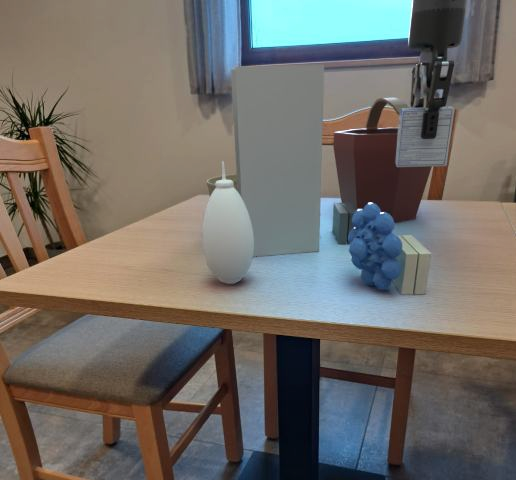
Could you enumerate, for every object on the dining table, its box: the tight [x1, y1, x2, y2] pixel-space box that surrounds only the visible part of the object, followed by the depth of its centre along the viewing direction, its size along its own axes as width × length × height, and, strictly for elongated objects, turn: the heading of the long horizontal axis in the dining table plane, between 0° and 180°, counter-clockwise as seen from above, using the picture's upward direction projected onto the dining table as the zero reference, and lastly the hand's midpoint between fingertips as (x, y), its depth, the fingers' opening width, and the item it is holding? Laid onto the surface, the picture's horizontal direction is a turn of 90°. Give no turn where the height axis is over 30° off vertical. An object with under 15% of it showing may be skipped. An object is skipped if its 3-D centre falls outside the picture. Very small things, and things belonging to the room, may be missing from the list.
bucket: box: [332, 97, 433, 224], centre depth 105 cm, size 24×22×25 cm
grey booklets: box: [332, 202, 356, 245], centre depth 93 cm, size 3×10×6 cm, turn 179°
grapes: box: [348, 203, 403, 291], centre depth 67 cm, size 12×7×12 cm, turn 23°
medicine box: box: [395, 106, 455, 167], centre depth 75 cm, size 8×4×9 cm, turn 79°
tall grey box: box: [230, 64, 325, 258], centre depth 81 cm, size 14×6×30 cm, turn 100°
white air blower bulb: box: [201, 160, 254, 285], centre depth 69 cm, size 8×8×18 cm
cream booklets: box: [392, 234, 432, 296], centre depth 69 cm, size 3×10×6 cm, turn 179°
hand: (423, 137), depth 75 cm, fingers closed on medicine box, 5 cm apart
